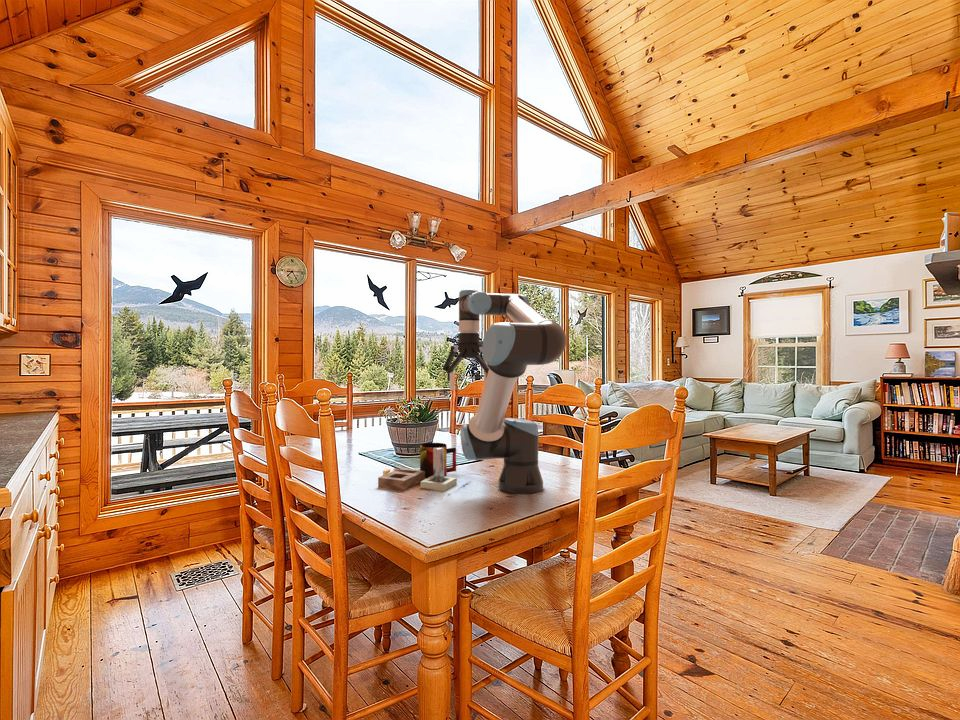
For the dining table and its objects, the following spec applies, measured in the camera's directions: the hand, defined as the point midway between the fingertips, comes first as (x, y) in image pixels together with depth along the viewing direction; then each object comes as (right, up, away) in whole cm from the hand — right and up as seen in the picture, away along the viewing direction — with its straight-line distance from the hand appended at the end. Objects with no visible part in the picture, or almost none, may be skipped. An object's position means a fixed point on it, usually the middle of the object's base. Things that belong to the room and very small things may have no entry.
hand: (468, 390), depth 178 cm
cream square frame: (-10, -32, -15) cm, 37 cm away
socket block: (-23, -32, -12) cm, 41 cm away
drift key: (-25, -32, -6) cm, 41 cm away
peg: (-10, -31, -15) cm, 36 cm away
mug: (-12, -32, +1) cm, 34 cm away
